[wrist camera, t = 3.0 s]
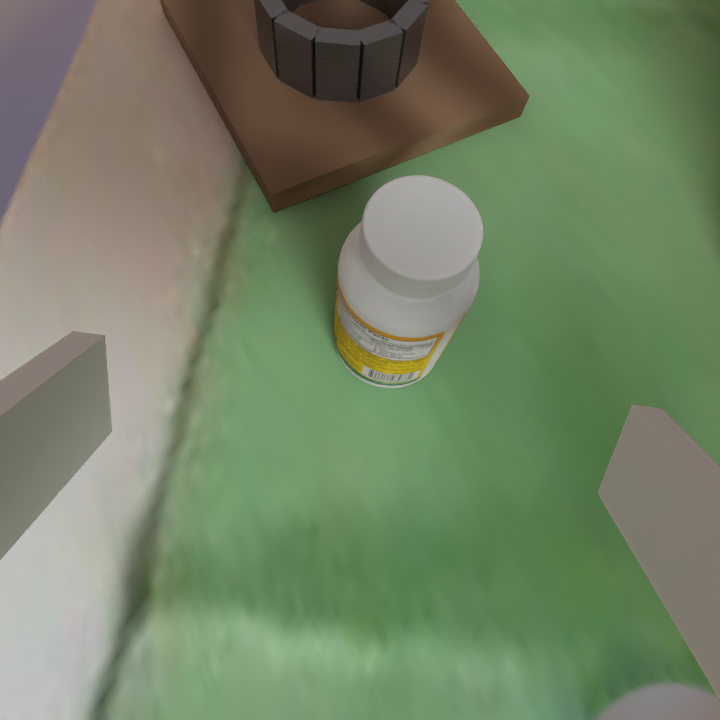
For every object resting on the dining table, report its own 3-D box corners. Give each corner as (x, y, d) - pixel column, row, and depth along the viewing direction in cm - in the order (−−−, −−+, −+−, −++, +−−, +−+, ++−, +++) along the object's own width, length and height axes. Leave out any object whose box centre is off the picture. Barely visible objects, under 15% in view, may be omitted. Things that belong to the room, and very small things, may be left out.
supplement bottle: (379, 412, 25) (411, 332, 16) (311, 328, 26) (305, 208, 17) (464, 348, 26) (538, 241, 17) (395, 271, 27) (431, 132, 18)
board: (390, -53, 36) (393, -78, 34) (520, 116, 31) (529, 95, 30) (163, 12, 32) (156, -12, 31) (273, 212, 28) (271, 194, 27)
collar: (371, -29, 33) (377, -94, 29) (446, 71, 30) (460, 13, 27) (236, 11, 31) (226, -54, 27) (303, 122, 28) (301, 65, 25)
